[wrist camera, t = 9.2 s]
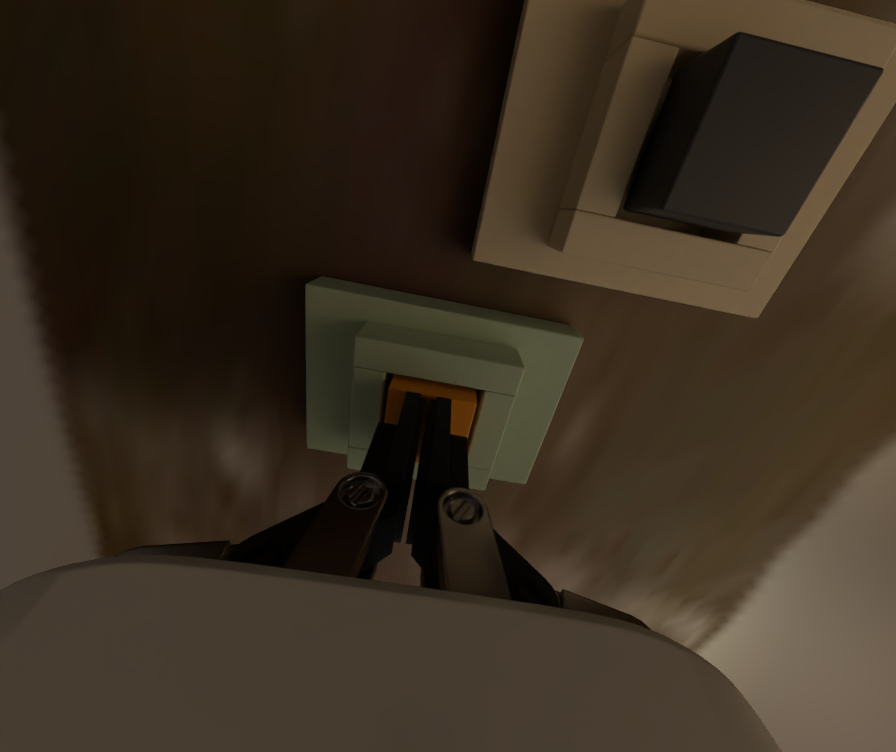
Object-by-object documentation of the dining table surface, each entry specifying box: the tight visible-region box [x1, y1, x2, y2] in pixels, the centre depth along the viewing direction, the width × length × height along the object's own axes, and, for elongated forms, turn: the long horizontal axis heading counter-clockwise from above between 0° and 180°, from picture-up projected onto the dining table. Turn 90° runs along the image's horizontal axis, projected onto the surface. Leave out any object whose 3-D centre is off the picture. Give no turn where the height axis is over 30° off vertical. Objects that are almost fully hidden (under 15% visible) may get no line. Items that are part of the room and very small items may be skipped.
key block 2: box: [471, 0, 896, 318], centre depth 10 cm, size 11×8×4 cm
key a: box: [623, 32, 884, 237], centre depth 8 cm, size 3×3×2 cm
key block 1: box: [305, 276, 584, 490], centre depth 14 cm, size 11×8×4 cm
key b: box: [384, 374, 477, 463], centre depth 13 cm, size 3×3×2 cm
